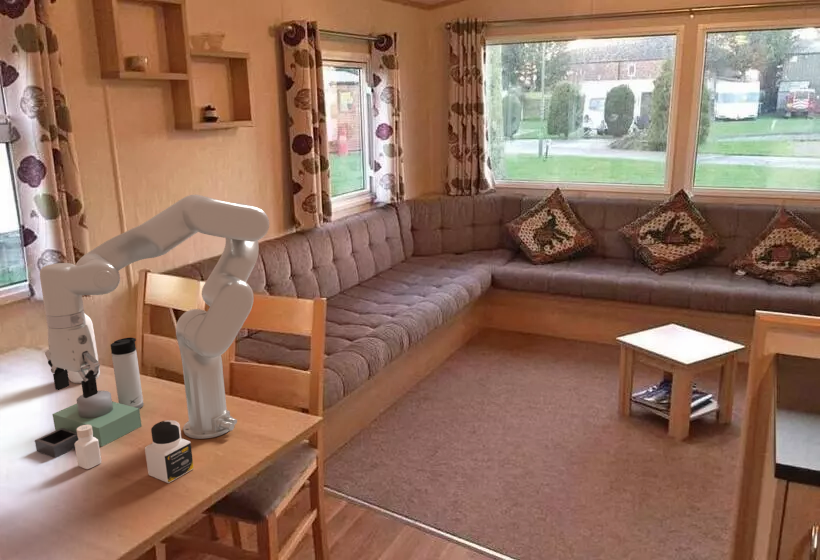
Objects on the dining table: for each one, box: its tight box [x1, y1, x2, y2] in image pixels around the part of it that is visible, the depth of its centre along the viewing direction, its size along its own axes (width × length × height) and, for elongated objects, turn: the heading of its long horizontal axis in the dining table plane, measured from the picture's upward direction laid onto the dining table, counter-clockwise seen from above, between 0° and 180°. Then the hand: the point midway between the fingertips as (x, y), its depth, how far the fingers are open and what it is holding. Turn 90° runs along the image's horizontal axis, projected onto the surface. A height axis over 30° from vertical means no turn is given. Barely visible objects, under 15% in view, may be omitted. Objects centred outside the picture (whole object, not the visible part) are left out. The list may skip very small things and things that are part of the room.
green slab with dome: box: [52, 390, 143, 448], centre depth 170 cm, size 18×12×9 cm, turn 62°
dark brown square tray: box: [34, 428, 79, 459], centre depth 161 cm, size 7×7×3 cm
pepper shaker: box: [74, 425, 102, 470], centre depth 153 cm, size 4×4×10 cm
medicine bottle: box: [144, 419, 194, 484], centre depth 148 cm, size 7×7×12 cm
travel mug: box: [110, 337, 144, 410], centre depth 181 cm, size 6×7×20 cm
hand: (76, 391), depth 149 cm, fingers open, 9 cm apart
